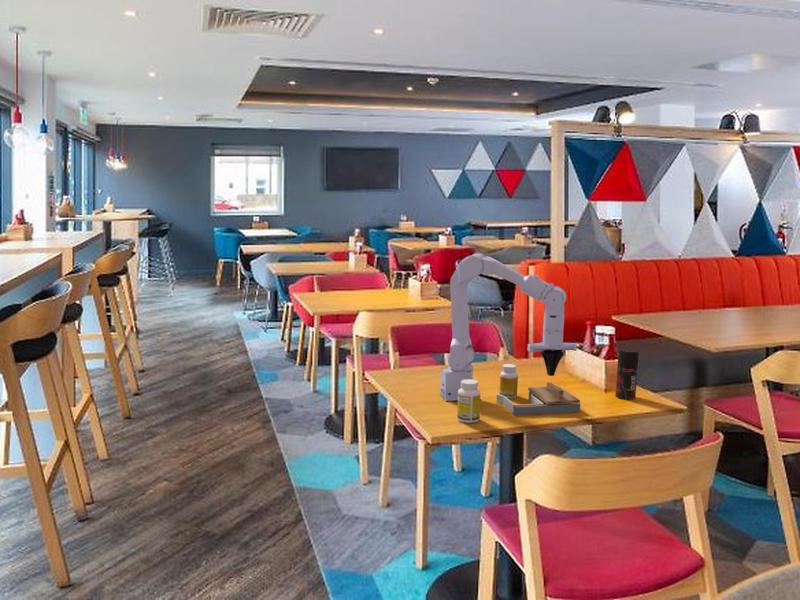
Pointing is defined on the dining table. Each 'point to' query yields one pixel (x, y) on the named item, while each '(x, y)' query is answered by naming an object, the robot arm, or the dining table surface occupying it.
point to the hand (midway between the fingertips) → (550, 375)
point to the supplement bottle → (509, 381)
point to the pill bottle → (469, 401)
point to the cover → (553, 394)
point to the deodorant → (627, 373)
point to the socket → (537, 406)
